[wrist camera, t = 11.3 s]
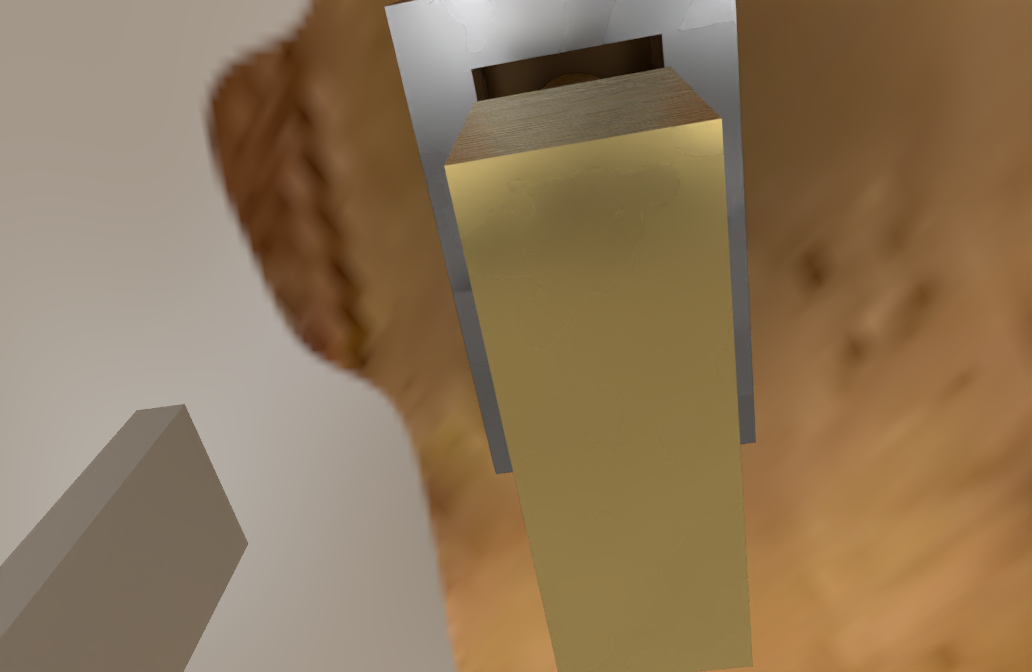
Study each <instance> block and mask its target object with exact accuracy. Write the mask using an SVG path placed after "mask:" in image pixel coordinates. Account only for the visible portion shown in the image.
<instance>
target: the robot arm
mask: <svg viewBox="0 0 1032 672" xmlns="http://www.w3.org/2000/svg"><path fill="white" fill-rule="evenodd" d="M247 545H248V542H247V540H246V538H245V535H244V533H243V531H242V529H241V527H240V525H239V523H238V520H237V518H236V516H235V514H234V512H233V509H232V507H231V505H230V503H229V501H228V498H227V496H226V494H225V492H224V490H223V487H222V485H221V483H220V481H219V479H218V476H217V474H216V472H215V470H214V468H213V465H212V463H211V461H210V459H209V457H208V454H207V453H206V450H205V448H204V446H203V444H202V441H201V439H200V437H199V435H198V433H197V430H196V428H195V426H194V424H193V422H192V419H191V417H190V415H189V413H188V411H187V409H186V406H185V404H182V405H175V406H167V407H160V408H152V409H145V410H137V411H136V412H135V413H134V414H133V415H132V417H131V418H130V419H129V420H128V421H127V422H126V423H125V424H124V426H123V427H122V428H121V429H120V430H119V431H118V432H117V434H116V435H115V436H114V437H113V438H112V439H111V440H110V442H109V443H108V444H107V445H106V446H105V447H104V448H103V450H102V451H101V452H100V453H99V454H98V455H97V457H96V458H95V459H94V460H93V461H92V462H91V463H90V464H89V466H88V467H87V468H86V469H85V470H84V472H83V473H82V474H81V475H80V476H79V477H78V478H77V479H76V480H75V482H74V483H73V484H72V485H71V486H70V487H69V488H68V490H67V491H66V492H65V493H64V494H63V495H62V497H61V498H60V499H59V500H58V501H57V502H56V503H55V505H54V506H53V507H52V508H51V509H50V510H49V511H48V512H47V514H46V515H45V516H44V517H43V518H42V519H41V520H40V522H39V523H38V524H37V525H36V526H35V527H34V529H33V530H32V531H31V532H30V533H29V534H28V535H27V537H26V538H25V539H24V540H23V541H22V542H21V543H20V544H19V546H18V547H17V548H16V549H15V550H14V551H13V552H12V554H11V555H10V556H9V557H8V558H7V559H6V560H5V562H4V563H3V564H2V565H1V566H0V672H184V670H185V668H186V665H187V664H188V662H189V660H190V658H191V656H192V654H193V652H194V650H195V648H196V646H197V644H198V642H199V640H200V638H201V636H202V634H203V632H204V630H205V628H206V626H207V624H208V622H209V620H210V618H211V616H212V614H213V612H214V610H215V608H216V606H217V604H218V602H219V600H220V598H221V596H222V595H223V593H224V591H225V589H226V587H227V585H228V583H229V581H230V579H231V577H232V575H233V573H234V571H235V569H236V567H237V565H238V563H239V561H240V559H241V556H242V555H243V553H244V551H245V549H246V547H247Z"/></svg>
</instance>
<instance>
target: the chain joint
mask: <svg viewBox="0 0 1032 672" xmlns="http://www.w3.org/2000/svg"><path fill="white" fill-rule="evenodd" d="M385 11H386V15H387V20H388V24H389V28H390V32H391V36H392V41H393V45H394V49H395V53H396V57H397V62H398V66H399V70H400V74H401V78H402V82H403V87H404V91H405V95H406V99H407V103H408V108H409V112H410V116H411V120H412V124H413V129H414V133H415V137H416V141H417V145H418V150H419V154H420V158H421V162H422V166H423V171H424V175H425V179H426V183H427V187H428V192H429V196H430V200H431V204H432V208H433V212H434V217H435V221H436V225H437V229H438V233H439V238H440V242H441V246H442V250H443V254H444V259H445V263H446V267H447V271H448V275H449V280H450V284H451V288H452V292H453V296H454V301H455V305H456V309H457V313H458V317H459V322H460V326H461V330H462V334H463V338H464V342H465V347H466V351H467V355H468V359H469V363H470V368H471V372H472V376H473V380H474V384H475V389H476V393H477V397H478V401H479V405H480V410H481V414H482V418H483V422H484V426H485V431H486V435H487V439H488V443H489V447H490V452H491V456H492V460H493V464H494V468H495V472H496V474H500V473H508V472H513V469H512V465H511V460H510V456H509V451H508V447H507V443H506V438H505V434H504V429H503V425H502V420H501V416H500V411H499V407H498V403H497V398H496V394H495V389H494V385H493V380H492V376H491V372H490V367H489V363H488V358H487V354H486V349H485V345H484V340H483V336H482V332H481V327H480V323H479V318H478V314H477V309H476V305H475V301H474V296H473V292H472V287H471V283H470V278H469V274H468V269H467V265H466V261H465V256H464V252H463V247H462V243H461V238H460V234H459V230H458V225H457V221H456V216H455V212H454V207H453V203H452V198H451V194H450V190H449V185H448V181H447V176H446V172H445V167H444V165H445V163H446V161H447V159H448V157H449V155H450V152H451V150H452V148H453V146H454V144H455V142H456V140H457V138H458V135H459V133H460V131H461V129H462V127H463V125H464V123H465V121H466V118H467V116H468V114H469V112H470V110H471V108H472V106H473V104H474V102H477V101H483V100H489V95H488V90H487V85H486V79H485V74H484V69H483V67H486V66H491V65H496V64H502V63H507V62H513V61H518V60H523V59H529V58H534V57H540V56H545V55H550V54H556V53H561V52H567V51H572V50H577V49H583V48H588V47H593V46H599V45H604V44H610V43H615V42H620V41H626V40H631V39H637V38H642V37H647V36H649V40H650V50H651V61H652V70H655V69H660V68H666V67H672V68H673V69H674V70H675V71H676V72H677V73H678V74H679V75H680V76H681V77H682V78H683V79H684V80H685V81H686V82H687V83H688V84H689V85H690V86H691V87H692V89H693V90H694V91H695V92H696V93H697V94H698V95H699V96H700V97H701V98H702V99H703V100H704V101H705V102H706V103H707V104H708V105H709V106H710V107H711V108H712V109H713V110H714V111H715V112H716V113H717V114H718V115H719V116H720V117H721V118H722V132H723V150H724V167H725V185H726V203H727V220H728V238H729V256H730V273H731V291H732V309H733V326H734V344H735V361H736V379H737V397H738V414H739V432H740V444H746V443H755V442H756V440H755V418H754V396H753V374H752V352H751V330H750V308H749V286H748V264H747V242H746V220H745V199H744V177H743V155H742V133H741V111H740V89H739V67H738V45H737V23H736V1H735V0H400V1H398V2H395V3H392V4H390V5H387V6H385Z"/></svg>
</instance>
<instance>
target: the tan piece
mask: <svg viewBox="0 0 1032 672" xmlns="http://www.w3.org/2000/svg"><path fill="white" fill-rule="evenodd" d="M444 167H445V172H446V176H447V181H448V185H449V190H450V194H451V198H452V203H453V207H454V212H455V216H456V221H457V225H458V230H459V234H460V238H461V243H462V247H463V252H464V256H465V261H466V265H467V269H468V274H469V278H470V283H471V287H472V292H473V296H474V301H475V305H476V309H477V314H478V318H479V323H480V327H481V332H482V336H483V340H484V345H485V349H486V354H487V358H488V363H489V367H490V372H491V376H492V380H493V385H494V389H495V394H496V398H497V403H498V407H499V411H500V416H501V420H502V425H503V429H504V434H505V438H506V443H507V447H508V451H509V456H510V460H511V465H512V469H513V474H514V478H515V482H516V487H517V491H518V496H519V500H520V505H521V509H522V514H523V518H524V522H525V527H526V531H527V536H528V540H529V545H530V549H531V553H532V558H533V562H534V567H535V571H536V576H537V580H538V585H539V589H540V593H541V598H542V602H543V607H544V611H545V616H546V620H547V624H548V629H549V633H550V638H551V642H552V647H553V651H554V656H555V660H556V664H557V669H558V672H695V671H707V670H718V669H730V668H741V667H752V666H753V661H752V644H751V626H750V608H749V591H748V573H747V555H746V538H745V520H744V503H743V485H742V467H741V450H740V432H739V414H738V397H737V379H736V361H735V344H734V326H733V309H732V291H731V273H730V256H729V238H728V220H727V203H726V185H725V167H724V150H723V132H722V118H721V117H720V116H719V115H718V114H717V113H716V112H715V111H714V110H713V109H712V108H711V107H710V106H709V105H708V104H707V103H706V102H705V101H704V100H703V99H702V98H701V97H700V96H699V95H698V94H697V93H696V92H695V91H694V90H693V89H692V87H691V86H690V85H689V84H688V83H687V82H686V81H685V80H684V79H683V78H682V77H681V76H680V75H679V74H678V73H677V72H676V71H675V70H674V69H673V68H672V67H666V68H660V69H655V70H649V71H644V72H638V73H633V74H627V75H622V76H616V77H611V78H605V79H600V78H598V77H595V76H592V75H589V74H584V73H572V74H566V75H563V76H560V77H558V78H556V79H554V80H552V81H550V82H549V83H548V84H546V85H545V86H544V87H543V88H542V89H541V90H538V91H533V92H527V93H522V94H516V95H511V96H505V97H500V98H494V99H489V100H483V101H477V102H474V104H473V106H472V108H471V110H470V112H469V114H468V116H467V118H466V121H465V123H464V125H463V127H462V129H461V131H460V133H459V135H458V138H457V140H456V142H455V144H454V146H453V148H452V150H451V152H450V155H449V157H448V159H447V161H446V163H445V165H444Z"/></svg>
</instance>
